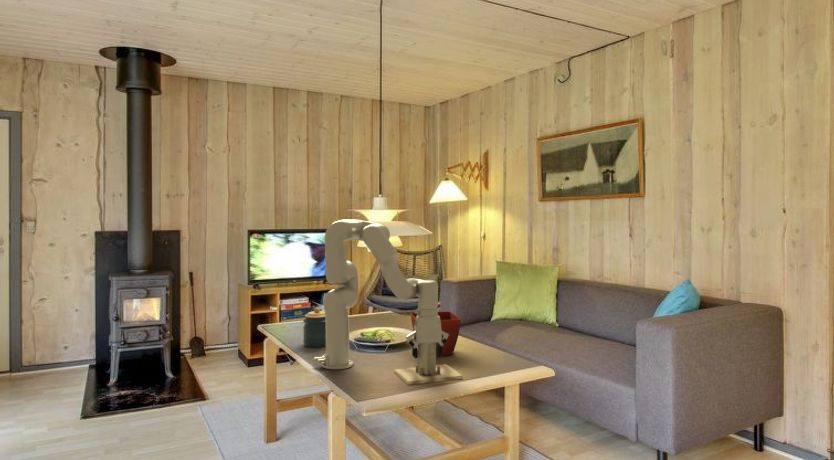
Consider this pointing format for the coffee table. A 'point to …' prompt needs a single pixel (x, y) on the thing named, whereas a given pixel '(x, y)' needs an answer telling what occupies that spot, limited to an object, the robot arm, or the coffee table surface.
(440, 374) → the pin tray
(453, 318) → the plant pot
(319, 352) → the coffee table surface
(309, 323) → the canister
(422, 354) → the skincare box
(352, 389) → the coffee table surface
